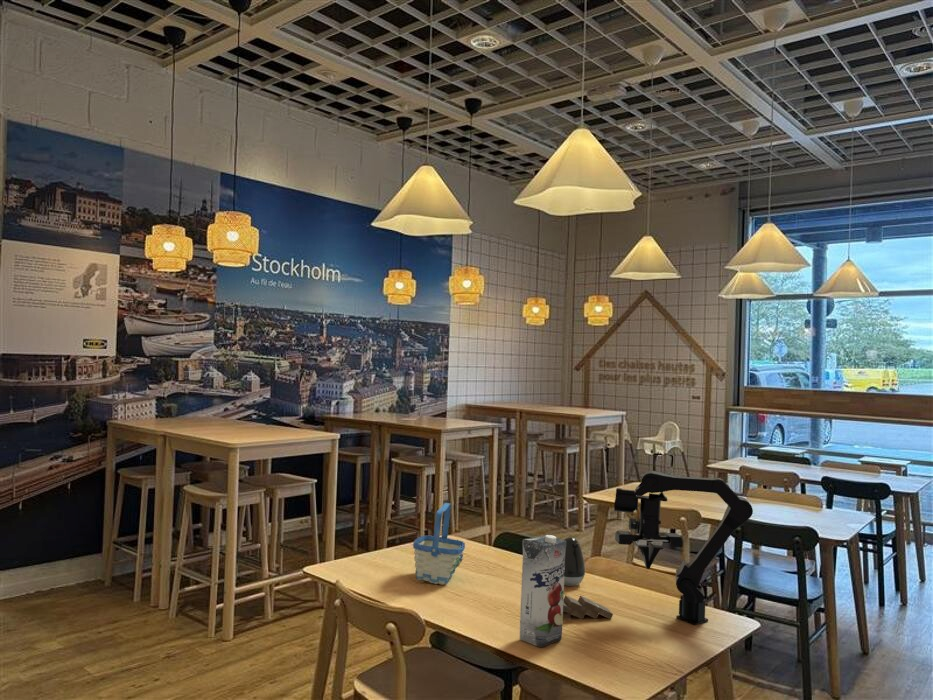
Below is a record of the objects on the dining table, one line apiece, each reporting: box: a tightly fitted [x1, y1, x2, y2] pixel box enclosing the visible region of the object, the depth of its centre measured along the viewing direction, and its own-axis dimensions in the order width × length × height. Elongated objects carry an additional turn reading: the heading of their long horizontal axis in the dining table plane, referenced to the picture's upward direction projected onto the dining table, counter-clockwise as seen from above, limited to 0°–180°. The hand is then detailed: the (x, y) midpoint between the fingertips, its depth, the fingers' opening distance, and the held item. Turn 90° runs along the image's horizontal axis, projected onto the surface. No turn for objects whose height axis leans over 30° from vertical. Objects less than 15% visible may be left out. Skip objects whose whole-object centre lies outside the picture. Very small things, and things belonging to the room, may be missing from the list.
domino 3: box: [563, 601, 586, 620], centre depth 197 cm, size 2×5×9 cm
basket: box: [412, 502, 466, 586], centre depth 229 cm, size 21×16×24 cm
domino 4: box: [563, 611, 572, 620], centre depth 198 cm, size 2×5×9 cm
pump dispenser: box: [563, 536, 586, 587], centre depth 229 cm, size 10×10×15 cm
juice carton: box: [519, 534, 566, 648], centre depth 179 cm, size 9×10×27 cm
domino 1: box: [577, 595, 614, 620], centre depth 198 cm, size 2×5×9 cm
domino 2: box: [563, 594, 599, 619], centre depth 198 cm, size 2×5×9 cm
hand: (647, 568), depth 203 cm, fingers closed
